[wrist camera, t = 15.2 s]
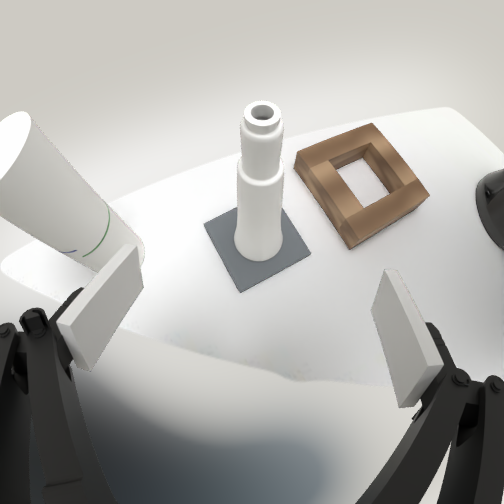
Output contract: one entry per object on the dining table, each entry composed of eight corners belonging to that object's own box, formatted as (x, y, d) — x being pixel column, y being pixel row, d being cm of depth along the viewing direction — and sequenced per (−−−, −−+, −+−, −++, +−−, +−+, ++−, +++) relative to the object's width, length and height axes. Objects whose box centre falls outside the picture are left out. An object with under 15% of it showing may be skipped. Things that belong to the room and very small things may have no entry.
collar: (417, 207, 39) (429, 195, 35) (349, 249, 37) (359, 239, 33) (364, 138, 43) (372, 122, 39) (293, 167, 41) (297, 151, 37)
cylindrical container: (100, 234, 38) (-16, 130, 14) (144, 227, 38) (42, 99, 15) (98, 283, 36) (-43, 207, 12) (145, 278, 36) (13, 182, 12)
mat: (310, 254, 37) (311, 253, 36) (240, 292, 36) (239, 292, 35) (270, 192, 40) (270, 190, 39) (204, 225, 38) (203, 224, 38)
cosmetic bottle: (235, 215, 38) (217, 81, 17) (282, 217, 38) (309, 84, 17) (232, 260, 36) (205, 150, 15) (282, 262, 36) (316, 154, 15)
